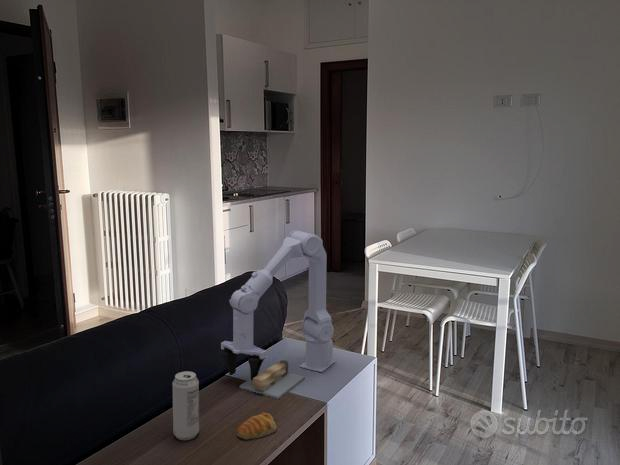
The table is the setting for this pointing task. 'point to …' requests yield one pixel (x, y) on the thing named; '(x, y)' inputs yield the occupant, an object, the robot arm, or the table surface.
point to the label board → (276, 385)
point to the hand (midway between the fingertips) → (243, 376)
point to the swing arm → (270, 374)
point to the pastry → (257, 427)
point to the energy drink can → (185, 405)
